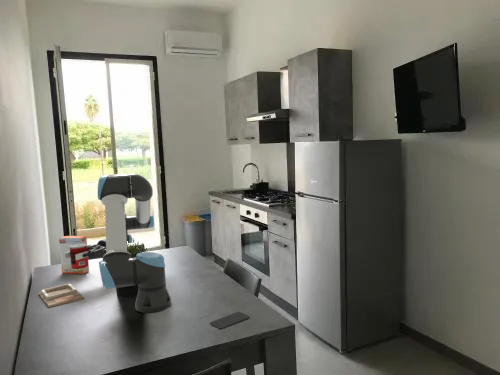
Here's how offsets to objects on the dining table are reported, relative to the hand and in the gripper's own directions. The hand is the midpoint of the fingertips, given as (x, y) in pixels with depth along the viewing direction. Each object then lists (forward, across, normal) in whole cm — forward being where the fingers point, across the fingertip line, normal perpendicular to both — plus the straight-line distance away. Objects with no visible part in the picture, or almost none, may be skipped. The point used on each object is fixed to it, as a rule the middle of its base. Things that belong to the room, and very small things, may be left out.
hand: (70, 256), depth 192 cm
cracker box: (-23, +27, -18) cm, 40 cm away
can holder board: (+6, +1, -18) cm, 19 cm away
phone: (-3, -88, -18) cm, 90 cm away
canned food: (-5, 0, -7) cm, 8 cm away
